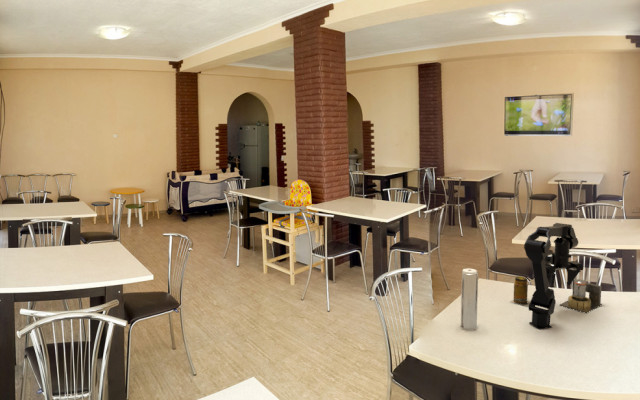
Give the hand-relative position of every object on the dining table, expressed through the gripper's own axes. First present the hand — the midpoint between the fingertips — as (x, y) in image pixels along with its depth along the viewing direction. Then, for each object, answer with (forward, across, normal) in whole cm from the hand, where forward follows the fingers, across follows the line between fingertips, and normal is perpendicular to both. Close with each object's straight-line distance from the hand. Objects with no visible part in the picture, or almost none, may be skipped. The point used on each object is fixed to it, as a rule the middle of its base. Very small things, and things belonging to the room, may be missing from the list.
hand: (560, 286), depth 207 cm
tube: (+12, -15, -5) cm, 20 cm away
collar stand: (+13, -17, -5) cm, 22 cm away
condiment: (+13, +6, -17) cm, 22 cm away
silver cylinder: (+13, +45, 0) cm, 47 cm away
